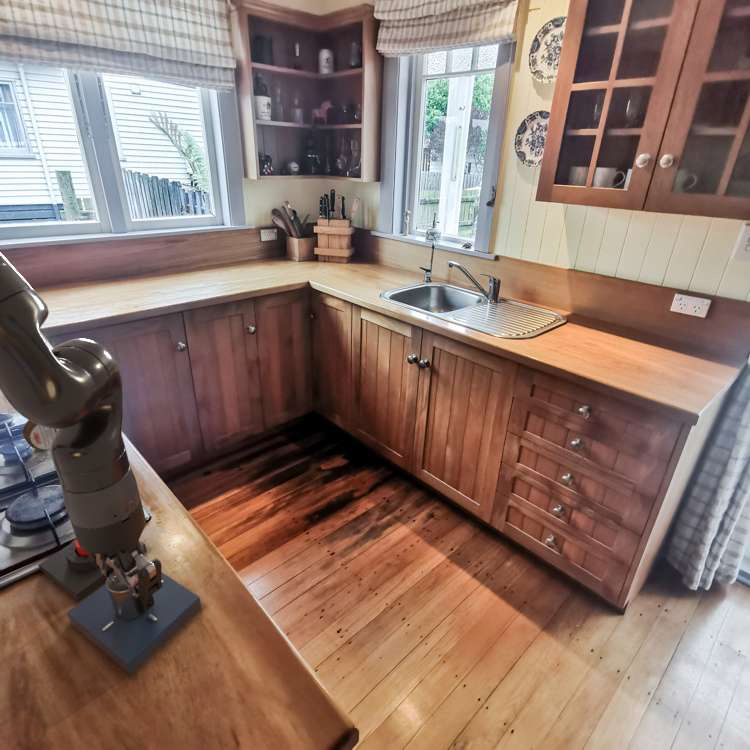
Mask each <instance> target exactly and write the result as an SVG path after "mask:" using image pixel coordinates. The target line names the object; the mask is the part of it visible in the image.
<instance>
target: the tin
mask: <svg viewBox="0 0 750 750" xmlns="http://www.w3.org/2000/svg"><path fill="white" fill-rule="evenodd" d="M58 430H59V429H54V428H47V427H44V426H40V425H38V424H36V423H33V422H31V421H30V420H28V419H27V421H26V423H25V424H24V426H23V428H22V436H23V438H24V440H25V441H26V443H27V444H28V445H29V446H30V447H31V448H33V449H34V450H37V451H42V452H45V451H48V450H51V444H52V441H53V439H54V437H55V435H56V433H57V432H58Z"/></svg>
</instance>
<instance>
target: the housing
mask: <svg viewBox="0 0 750 750" xmlns="http://www.w3.org/2000/svg"><path fill="white" fill-rule="evenodd" d="M75 541H76V538H74V539H73V540H72V541H71V542H70V543H69V544H68V545H66V546H65V547H63V548H61V549H60V550H58V551H57V552H55V553H54V554H52V555H50V556H49V557H48V558H46V559H45V560H43V561H41V562H40V563H39V564H38V567H39V569H40V572H41V573H42V574H44V575H45V577H47V578H48V579H50V581H52V582H53V583H54V584H56V585H57V586H58V587H59V588H61V589H62V590H63V591H64V592H66V593H67V594H68V595H69V596H71V597H72V598H73V599H74V600H76V601H77V602H80V603H81V602H82V601H83V600H85V599H86V598H87V597H89V596H90V595H91V594H93V593H94V592H95V591H97V590H98V588H101V587H102V586H103V584H104V585H105V584H106V581H107V579H106V576H104V575H102V573H101V570H100V567H99V566H97V567H95V566H94V565H93V564H92V562H91V559H90V557H89V556H80V555H79V554H78V552H77V549H76V546H75ZM140 542H141V544H142V546H143V550H144V554H145V553H146V552H147V551H148V550H147V549H148V548H147V545H146V543H145V542H143V541H141V540H140Z"/></svg>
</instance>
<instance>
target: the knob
mask: <svg viewBox="0 0 750 750" xmlns="http://www.w3.org/2000/svg"><path fill="white" fill-rule="evenodd" d="M135 568H137V566H136V567H135ZM135 568H133V569H132V570H131V571H129V572H127V573H125V574H126V575H128V574H129V573H130V572H132V571H133V570H134V569H135ZM105 584H106V586H107V590H108V593H109V596H110V599H111V602H112V605H113V608H114V611H115V614H116V616H117V617H118V618H120V619H122V620H132V619H136V618H138V617H140V616H142V615H143V614H142V615H140V614H139V613H137V612H136V608H135V605H134V602H133V598H132V595H131V592H130V590H129V588H128V586H127V585H124V584H121V582H120V580H119V579H118V577H117V575H116V573H115V571H114V570H113V571H112V572H111V573H110V575H109V576H108V578H107V581H106V582H105ZM135 585H136V586H137V585H138V579H136V580H135ZM153 598H154V597H153ZM147 611H148V610H147ZM147 611H146V612H147ZM146 612H145V613H146ZM145 613H144V614H145Z"/></svg>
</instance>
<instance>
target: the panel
mask: <svg viewBox="0 0 750 750" xmlns="http://www.w3.org/2000/svg"><path fill="white" fill-rule="evenodd" d="M153 597H154V605H153V606H152V607H151V608H150V609H149V610H148V611H147V612H146V613H145V614H143V615H142V616H140V617H138V618H136V619H132V620H122V619H120V618H118V617H117V616H116V614H115V611H114V608H113V605H112V602H111V599H110V596H109V593H108V590H107V586H106V583H104V585H101V586H100V587H99V589H98V588H97V589H96V590H95V591H93V592H92V593H91V594H89V595H88V596H87V597H85V598H84V599H83V600H82V601H80V603H78V605H76V606H74V607H72V609H71V610H69V611H68V612H67V613H66V614H67V616H68V620H69V622H70V624H71V626H72V627H74V628H75V629H76V630H77V631H79V632H80V633H81V634H82V635H83V636H85V638H87V639H88V640H89V641H90V642H92V644H93V645H95V646H96V647H98V648H99V649H100V650H101V651H102V652H103V653H104V654H106V655H107V656H108V657H109V658H110V659H111V660H113V661H114V662H115V663H116V664H118V665H119V666H120V667H121V668H122V669H123V670H124V671H126V672H127V673H128V674H129V675H130V676H132V675H133V674H134V673H136V672H137V670H138V669H139V668H140V667H142V666H143V665H144V664H145V663H146V662H147V661H148V660H149V659H150V658H151V657H152V656H153V655H154V654H155V653H156V652H157V651H159V649H161V648H162V647H163V646H164V645H165V644H166V643H167V642H168V641H169V640H170V639H171V638H172V637H173V636H174V635H175V634H177V632H179V630H180V629H182V627H184V625H186V624H187V623H188V622H189V621H190V620H191V619H192V618H193V617H195V615H196V614H197V613H198V612H199V611H200V610H201V609H202V602H201V597H200V596H199V595H197V594H196V593H194V592H193V591H191V590H190V589H188V588H187V587H185V586H184V585H182V584H181V583H179V582H177V581H176V580H174V579H173V578H172V577H171V576H168V574H165V573H164V572H162V588H160V589H159V590H157V591H156V592H155V593H154V594H153Z"/></svg>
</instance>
